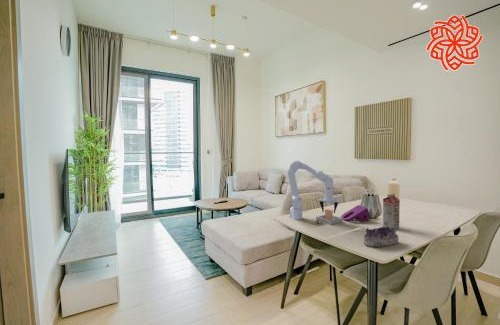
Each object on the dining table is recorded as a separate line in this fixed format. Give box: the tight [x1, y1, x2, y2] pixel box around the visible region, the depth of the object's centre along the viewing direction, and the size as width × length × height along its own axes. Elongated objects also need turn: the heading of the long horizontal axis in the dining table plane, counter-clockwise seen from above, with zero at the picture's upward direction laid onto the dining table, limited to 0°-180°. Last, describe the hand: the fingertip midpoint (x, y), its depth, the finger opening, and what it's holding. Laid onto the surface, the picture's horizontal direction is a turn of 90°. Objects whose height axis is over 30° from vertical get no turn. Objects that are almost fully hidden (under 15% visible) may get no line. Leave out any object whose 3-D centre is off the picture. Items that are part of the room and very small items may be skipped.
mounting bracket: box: [340, 204, 371, 223], centre depth 171 cm, size 10×9×19 cm
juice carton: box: [382, 193, 401, 230], centre depth 154 cm, size 7×7×22 cm
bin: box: [315, 214, 343, 226], centre depth 168 cm, size 13×12×4 cm
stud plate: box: [309, 218, 327, 227], centre depth 163 cm, size 9×9×4 cm
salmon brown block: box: [324, 208, 334, 220], centre depth 168 cm, size 5×5×8 cm
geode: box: [363, 225, 399, 248], centre depth 130 cm, size 20×12×10 cm, turn 114°
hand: (328, 212), depth 168 cm, fingers open, 7 cm apart
